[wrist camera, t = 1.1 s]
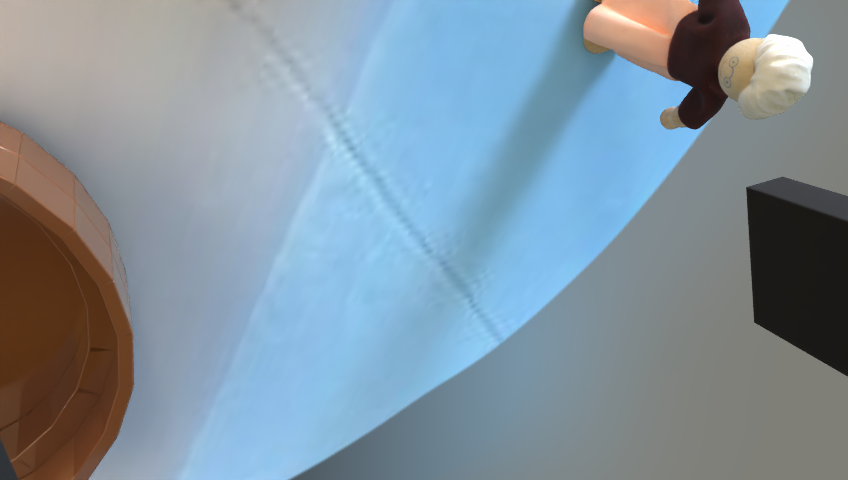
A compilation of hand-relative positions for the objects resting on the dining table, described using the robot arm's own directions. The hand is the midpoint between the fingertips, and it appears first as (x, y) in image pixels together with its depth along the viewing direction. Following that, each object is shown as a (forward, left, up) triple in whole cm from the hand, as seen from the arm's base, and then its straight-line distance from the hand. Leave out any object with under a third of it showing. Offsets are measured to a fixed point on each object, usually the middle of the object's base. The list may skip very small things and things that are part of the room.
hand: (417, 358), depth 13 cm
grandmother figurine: (+3, +19, -24) cm, 31 cm away
